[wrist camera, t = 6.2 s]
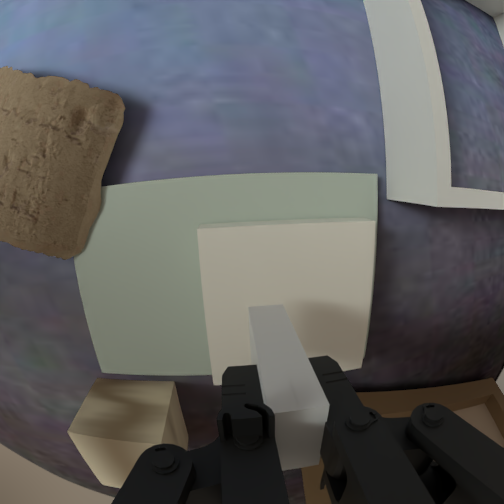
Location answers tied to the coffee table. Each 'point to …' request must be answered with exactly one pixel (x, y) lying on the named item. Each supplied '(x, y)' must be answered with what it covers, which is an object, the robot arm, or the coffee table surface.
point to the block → (126, 425)
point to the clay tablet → (53, 159)
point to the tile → (288, 285)
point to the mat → (186, 257)
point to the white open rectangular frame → (419, 106)
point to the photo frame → (405, 401)
